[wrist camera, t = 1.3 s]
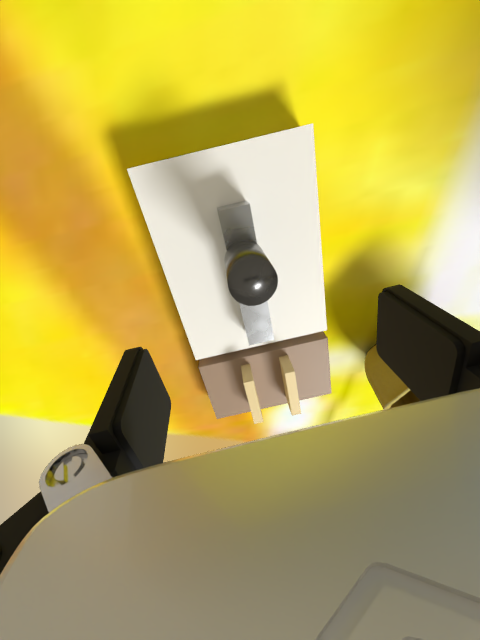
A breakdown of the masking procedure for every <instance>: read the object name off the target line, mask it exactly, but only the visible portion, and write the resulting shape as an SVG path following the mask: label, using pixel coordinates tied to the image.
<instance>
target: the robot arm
mask: <svg viewBox="0 0 480 640" xmlns="http://www.w3.org/2000/svg"><path fill="white" fill-rule="evenodd" d="M376 349H377V353H378V355H379V357H380V358H381V359H382V360H383V361H384V362H385V363H386V364H387V365H388V366H389V367H390V369H391V370H392V371H393V372H394V373H395V374H396V375H397V376H398V377H399V378H400V379H401V380H402V381H403V383H404V384H405V385H406V386H407V387H408V388H409V389H410V390H411V391H412V392H413V393H414V394H415V396H416V397H417V398H418V399H419V400H420V401H419V402H415V403H411V404H406V405H402V406H398V407H393V408H389V409H385V410H380V411H376V412H372V413H367V414H363V415H359V416H354V417H350V418H346V419H342V420H338V421H333V422H329V423H325V424H321V425H316V426H312V427H308V428H304V429H300V430H295V431H291V432H287V433H283V434H279V435H274V436H270V437H266V438H262V439H258V440H254V441H250V442H245V443H241V444H237V445H234V446H229V447H225V448H221V449H217V450H213V451H209V452H205V453H200V454H196V455H192V456H188V457H184V458H180V459H176V460H172V461H168V462H164V463H163V459H164V452H165V444H166V438H167V431H168V424H169V417H170V410H171V400H170V397H169V395H168V393H167V391H166V388H165V386H164V384H163V382H162V380H161V378H160V375H159V373H158V371H157V369H156V367H155V365H154V362H153V360H152V358H151V356H150V354H149V352H148V350H147V349H144V350H143V348H142V347H137V348H133V349H128V350H125V352H124V354H123V356H122V359H121V361H120V363H119V365H118V368H117V370H116V372H115V374H114V377H113V379H112V381H111V384H110V386H109V388H108V390H107V393H106V395H105V397H104V399H103V402H102V404H101V406H100V408H99V411H98V413H97V415H96V417H95V420H94V422H93V424H92V426H91V429H90V432H89V433H88V436H87V438H86V440H85V442H84V444H79V445H75V446H73V447H70V448H68V449H66V450H64V451H63V452H61V453H60V454H58V455H57V456H56V457H55V458H54V459H52V461H51V462H50V463H49V464H48V465H47V466H46V468H45V469H44V471H43V473H42V474H41V477H40V480H39V487H40V490H41V492H40V493H38V494H37V495H36V496H35V497H34V498H32V499H31V500H30V501H29V502H28V503H26V504H25V505H24V506H23V507H22V508H20V509H19V510H18V511H17V512H16V513H14V514H13V515H12V516H11V517H10V518H8V519H7V520H6V521H5V522H4V523H2V524H1V525H0V640H480V331H478V330H476V329H475V328H473V327H471V326H470V325H468V324H466V323H465V322H463V321H461V320H459V319H458V318H456V317H454V316H453V315H451V314H449V313H448V312H446V311H444V310H443V309H441V308H439V307H437V306H436V305H434V304H432V303H431V302H429V301H427V300H426V299H424V298H422V297H421V296H419V295H417V294H416V293H414V292H412V291H410V290H409V289H407V288H405V287H404V286H402V285H396V286H391V287H387V288H384V289H383V291H382V293H380V294H379V296H378V319H377V345H376Z"/></svg>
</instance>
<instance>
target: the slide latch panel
mask: <svg viewBox="0 0 480 640" xmlns="http://www.w3.org/2000/svg"><path fill="white" fill-rule="evenodd" d="M127 171H128V174H129V176H130V179H131V182H132V185H133V187H134V190H135V193H136V196H137V199H138V201H139V204H140V207H141V210H142V212H143V215H144V218H145V221H146V223H147V226H148V229H149V232H150V235H151V237H152V240H153V243H154V246H155V248H156V251H157V254H158V257H159V259H160V262H161V265H162V268H163V271H164V273H165V276H166V279H167V282H168V284H169V287H170V290H171V293H172V295H173V298H174V301H175V304H176V307H177V309H178V312H179V315H180V318H181V320H182V323H183V326H184V329H185V331H186V334H187V337H188V340H189V343H190V345H191V348H192V351H193V354H194V356H195V359H196V360H199V370H200V373H201V376H202V379H203V381H204V384H205V387H206V390H207V392H208V395H209V398H210V401H211V403H212V406H213V409H214V412H215V415H216V417H217V419H219V418H223V417H228V416H232V415H236V414H241V413H245V412H250V411H251V413H252V417H253V420H254V424H256V423H261V422H263V418H262V413H261V409H263V408H268V407H272V406H277V405H281V404H285V403H288V405H289V408H290V411H291V414H292V415H296V414H301V410H300V403H299V400H303V399H308V398H312V397H317V396H321V395H325V394H330V393H331V382H330V367H329V352H328V338H327V337H326V335H325V334H324V332H323V331H326V330H327V323H326V308H325V293H324V278H323V264H322V249H321V234H320V219H319V205H318V190H317V175H316V161H315V146H314V131H313V124H309V125H305V126H300V127H296V128H292V129H288V130H284V131H280V132H276V133H272V134H268V135H264V136H259V137H255V138H251V139H247V140H243V141H239V142H235V143H231V144H227V145H223V146H218V147H214V148H210V149H206V150H202V151H198V152H194V153H190V154H186V155H182V156H177V157H173V158H169V159H165V160H161V161H157V162H153V163H149V164H145V165H141V166H137V167H132V168H128V169H127ZM242 201H247V202H248V203H250V207H251V213H252V218H253V224H254V230H255V235H256V241H257V244H258V245H259V246H260V247H261V249H262V250H263V252H264V253H265V255H266V256H267V258H268V259H269V261H270V263H271V264H272V266H273V267H274V269H275V271H276V273H277V276H278V285H277V289H276V291H275V293H274V294H273V296H272V297H271V298H270V299H269V300H268V301H267V302H268V307H269V313H270V318H271V324H272V329H273V335H274V340H271V341H267V342H263V343H258V344H254V345H250V346H249V343H248V339H247V334H246V330H245V326H244V322H243V317H242V313H241V309H240V305H239V302H237V301H236V300H235V299H234V298H233V297H232V295H231V294H230V292H229V289H228V283H227V276H226V269H225V262H224V259H225V254H226V252H227V250H226V245H225V241H224V237H223V233H222V229H221V224H220V220H219V216H218V212H217V207H221V206H225V205H229V204H234V203H238V202H242Z"/></svg>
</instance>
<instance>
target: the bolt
mask: <svg viewBox="0 0 480 640" xmlns="http://www.w3.org/2000/svg"><path fill="white" fill-rule="evenodd" d="M217 212H218V216H219V220H220V224H221V229H222V233H223V237H224V241H225V245H226V250H227V252H226V254H225V259H224V262H225V269H226V276H227V283H228V289H229V292H230V294H231V295H232V297H233V298H234V299H235V300H236V301H237V302H239V305H240V309H241V313H242V317H243V322H244V326H245V330H246V334H247V339H248V343H249V346H250V345H254V344H258V343H263V342H267V341H271V340H274V335H273V329H272V324H271V318H270V313H269V307H268V302H267V301H268V300H269V299H270V298H271V297H272V296H273V294H274V293H275V291H276V289H277V285H278V276H277V273H276V271H275V269H274V267H273V266H272V264H271V263H270V261H269V259H268V258H267V256H266V255H265V253H264V252H263V250H262V249H261V247H260V246H259V245H258V244H257V241H256V235H255V230H254V224H253V218H252V213H251V207H250V203H248V202H247V201H242V202H238V203H234V204H229V205H225V206H221V207H217Z"/></svg>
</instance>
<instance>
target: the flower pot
mask: <svg viewBox="0 0 480 640" xmlns="http://www.w3.org/2000/svg"><path fill="white" fill-rule="evenodd" d="M376 345H377V344H376ZM376 345H375V346H374V347H373V348H371V349H370V350H369V351H368V352H367V355H366V358H365V372H366V375H367V378H368V380H369V383H370V384H371V386H372V388H373V390H374V392H375V394H376V396H377V398H378V400H379V402H380V403H381V405H382V407H383V409H384V410H385V409H389V408H393V407H398V406H402V405H406V404H411V403H415V402H419V401H420V400H419V399H418V398H417V397H416V396H415V394H414V393H413V392H412V391H411V390H410V389H409V388H408V387H407V386H406V385H405V384H404V383H403V381H402V380H401V379H400V378H399V377H398V376H397V375H396V374H395V373H394V372H393V371H392V370H391V369H390V367H389V366H388V365H387V364H386V363H385V362H384V361H383V360H382V359H381V358H380V357H379V355H378V353H377V349H376Z"/></svg>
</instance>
